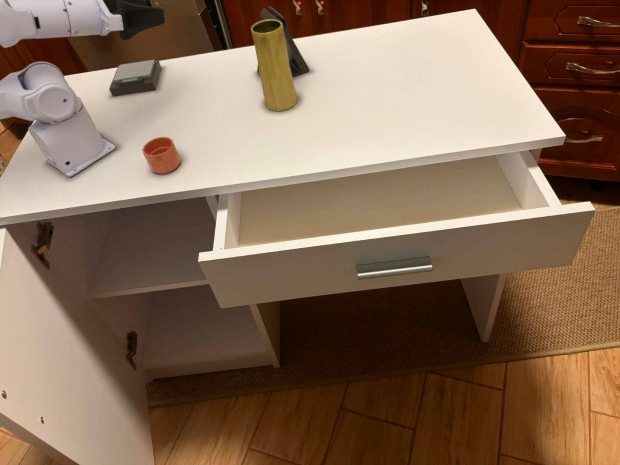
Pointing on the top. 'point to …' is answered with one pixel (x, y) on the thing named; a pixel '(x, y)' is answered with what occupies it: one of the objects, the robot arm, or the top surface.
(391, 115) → the top surface
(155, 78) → the scale
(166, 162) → the cup
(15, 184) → the top surface
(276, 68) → the vase
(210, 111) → the top surface
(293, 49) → the phone stand
